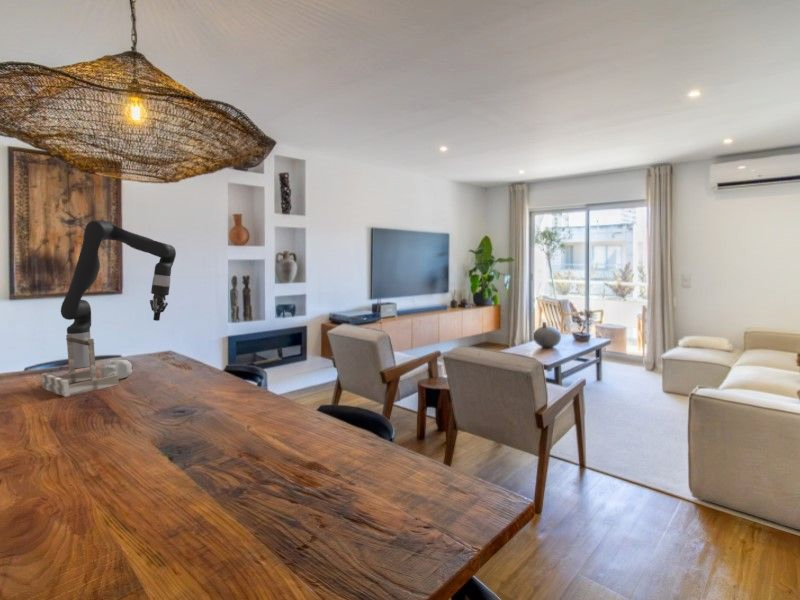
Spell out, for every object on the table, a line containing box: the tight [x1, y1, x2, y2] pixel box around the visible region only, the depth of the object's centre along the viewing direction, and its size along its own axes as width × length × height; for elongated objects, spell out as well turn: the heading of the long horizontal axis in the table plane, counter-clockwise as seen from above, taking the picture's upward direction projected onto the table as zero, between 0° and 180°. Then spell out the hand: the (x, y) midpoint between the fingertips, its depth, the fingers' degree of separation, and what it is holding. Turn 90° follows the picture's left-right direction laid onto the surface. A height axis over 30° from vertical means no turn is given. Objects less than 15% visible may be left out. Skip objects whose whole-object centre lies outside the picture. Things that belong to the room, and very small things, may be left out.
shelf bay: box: [41, 334, 120, 398], centre depth 183 cm, size 22×20×21 cm
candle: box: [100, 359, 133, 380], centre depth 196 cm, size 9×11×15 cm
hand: (156, 320), depth 211 cm, fingers closed
